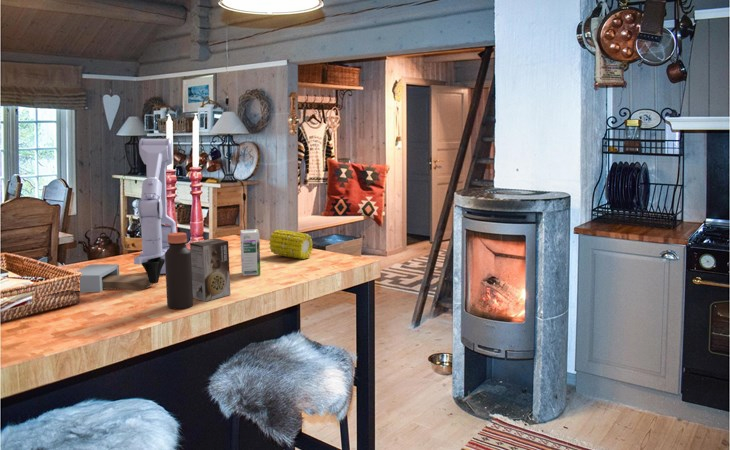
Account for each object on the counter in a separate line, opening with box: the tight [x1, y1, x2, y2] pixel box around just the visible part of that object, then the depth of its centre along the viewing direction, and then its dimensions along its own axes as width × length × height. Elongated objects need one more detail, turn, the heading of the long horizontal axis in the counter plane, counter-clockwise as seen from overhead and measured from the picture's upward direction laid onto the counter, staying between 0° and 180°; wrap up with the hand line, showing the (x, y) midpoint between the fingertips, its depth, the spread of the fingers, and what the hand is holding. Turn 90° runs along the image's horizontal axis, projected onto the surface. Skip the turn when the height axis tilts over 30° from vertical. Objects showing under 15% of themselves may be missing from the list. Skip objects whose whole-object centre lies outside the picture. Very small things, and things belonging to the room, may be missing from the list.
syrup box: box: [240, 229, 261, 277], centre depth 213 cm, size 6×6×14 cm
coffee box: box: [189, 237, 231, 302], centre depth 186 cm, size 9×6×16 cm
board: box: [102, 274, 154, 291], centre depth 198 cm, size 16×8×2 cm, turn 83°
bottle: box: [165, 231, 194, 310], centre depth 176 cm, size 7×7×20 cm
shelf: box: [76, 263, 120, 293], centre depth 198 cm, size 9×14×5 cm, turn 179°
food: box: [269, 229, 313, 260], centre depth 239 cm, size 15×12×10 cm
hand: (154, 282), depth 198 cm, fingers closed
